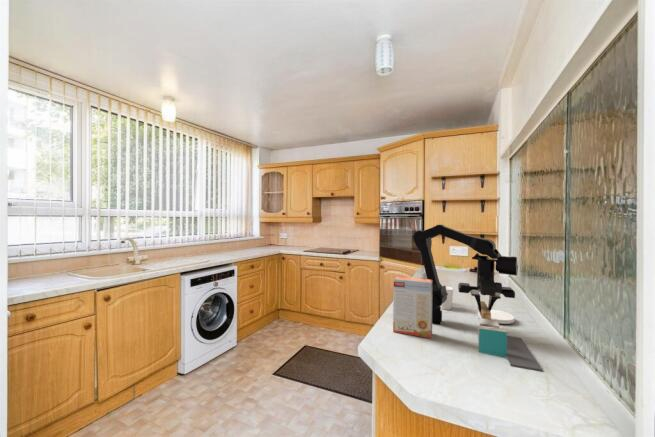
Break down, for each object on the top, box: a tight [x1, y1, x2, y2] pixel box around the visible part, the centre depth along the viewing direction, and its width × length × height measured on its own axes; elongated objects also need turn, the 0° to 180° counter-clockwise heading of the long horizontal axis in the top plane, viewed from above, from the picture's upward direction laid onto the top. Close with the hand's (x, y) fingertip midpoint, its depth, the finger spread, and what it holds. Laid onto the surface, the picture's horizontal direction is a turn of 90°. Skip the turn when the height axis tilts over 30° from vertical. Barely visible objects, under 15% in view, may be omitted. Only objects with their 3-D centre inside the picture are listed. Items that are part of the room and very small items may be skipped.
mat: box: [506, 335, 543, 372], centre depth 97 cm, size 8×24×1 cm, turn 159°
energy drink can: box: [418, 271, 427, 279], centre depth 153 cm, size 6×6×15 cm
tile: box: [477, 326, 508, 358], centre depth 95 cm, size 8×2×8 cm, turn 69°
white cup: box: [440, 285, 454, 311], centre depth 142 cm, size 8×8×10 cm
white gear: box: [477, 309, 516, 325], centre depth 127 cm, size 14×14×2 cm
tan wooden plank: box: [477, 300, 500, 329], centre depth 110 cm, size 6×22×3 cm, turn 159°
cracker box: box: [392, 276, 433, 339], centre depth 111 cm, size 14×6×21 cm, turn 65°
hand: (484, 312), depth 111 cm, fingers closed on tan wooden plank, 3 cm apart
